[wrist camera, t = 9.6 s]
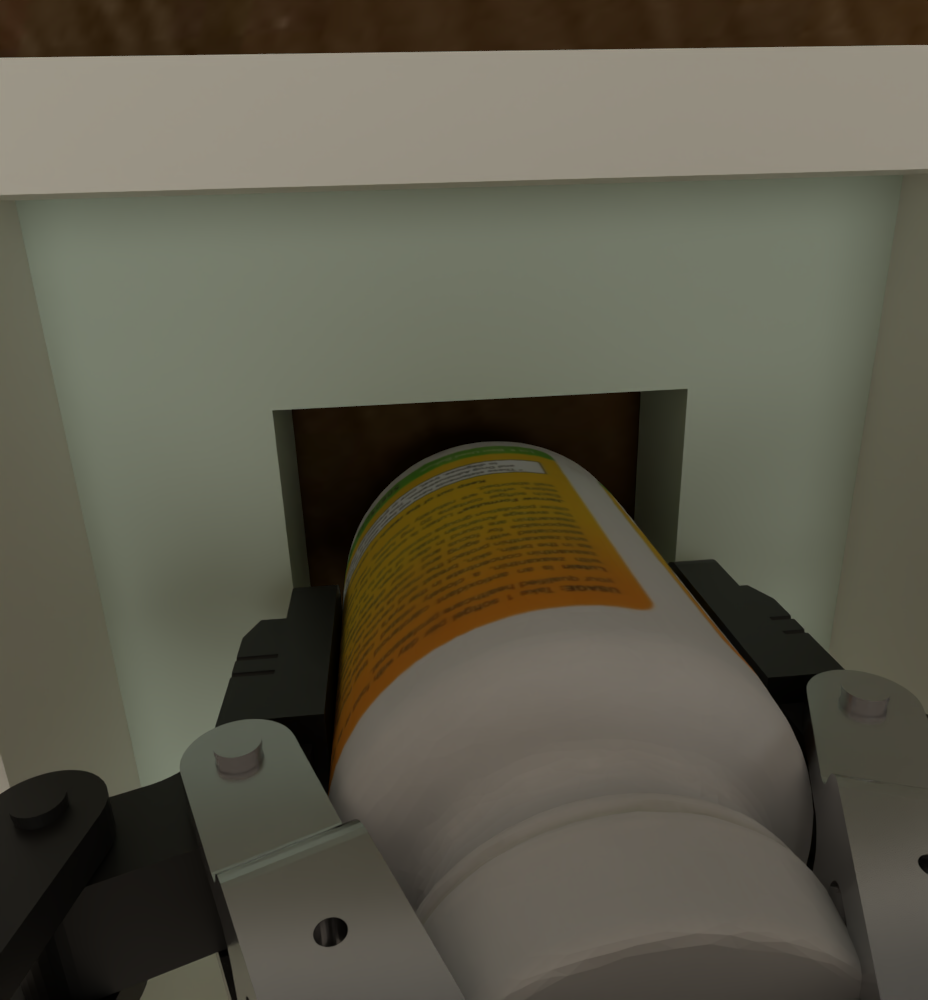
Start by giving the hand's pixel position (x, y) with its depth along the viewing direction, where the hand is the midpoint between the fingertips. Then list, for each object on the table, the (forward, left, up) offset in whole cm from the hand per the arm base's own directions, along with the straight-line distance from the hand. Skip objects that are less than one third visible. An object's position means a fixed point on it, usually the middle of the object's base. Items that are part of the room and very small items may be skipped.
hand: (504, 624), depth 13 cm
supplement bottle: (0, 0, -2) cm, 2 cm away
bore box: (0, 0, -4) cm, 4 cm away
